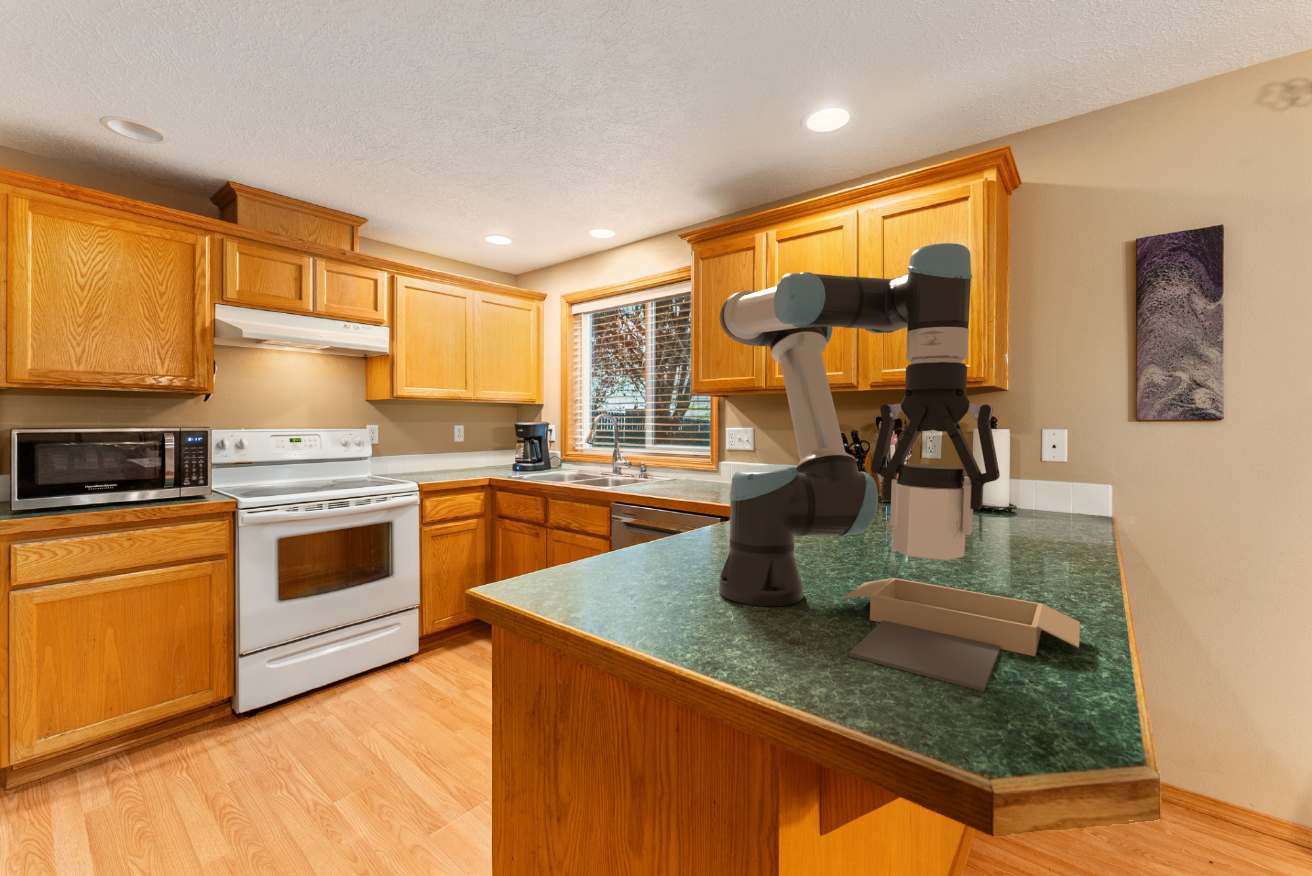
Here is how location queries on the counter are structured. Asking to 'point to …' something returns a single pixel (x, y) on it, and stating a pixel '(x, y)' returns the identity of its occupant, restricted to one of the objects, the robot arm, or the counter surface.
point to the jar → (929, 512)
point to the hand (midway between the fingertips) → (930, 528)
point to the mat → (929, 654)
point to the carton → (967, 614)
